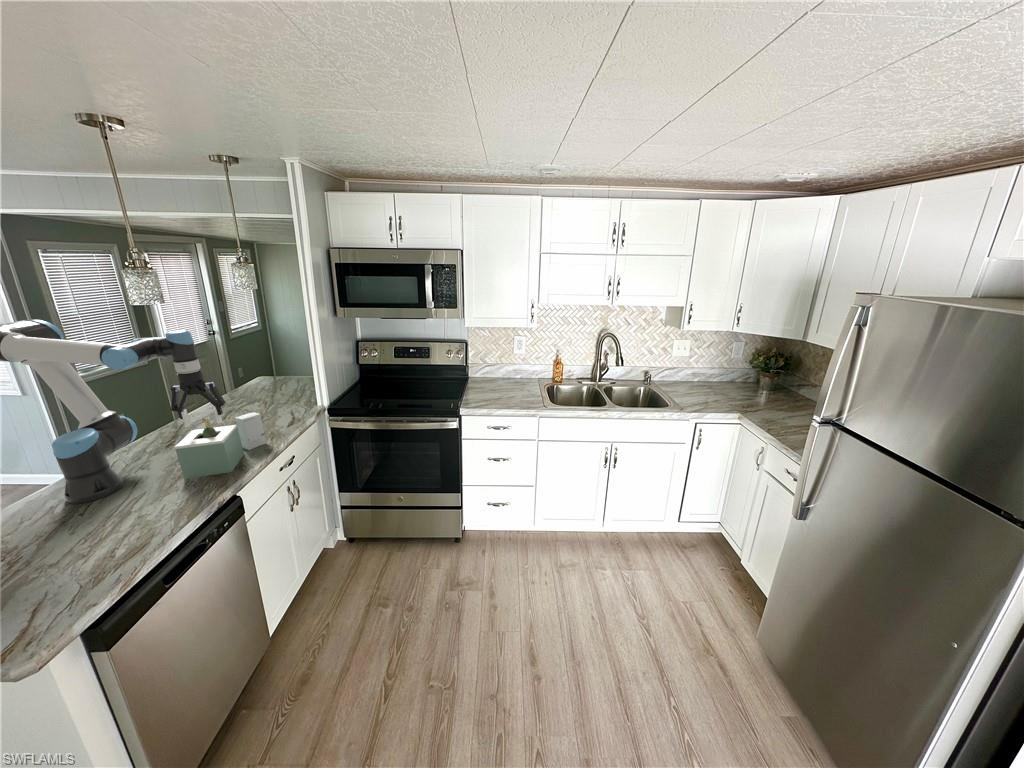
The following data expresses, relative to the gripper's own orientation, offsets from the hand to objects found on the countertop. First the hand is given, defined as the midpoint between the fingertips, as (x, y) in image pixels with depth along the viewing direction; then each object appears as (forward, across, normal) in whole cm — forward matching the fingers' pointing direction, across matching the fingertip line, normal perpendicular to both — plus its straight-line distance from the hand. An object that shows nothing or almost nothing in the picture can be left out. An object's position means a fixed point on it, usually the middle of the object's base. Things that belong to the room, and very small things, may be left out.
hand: (204, 424), depth 160 cm
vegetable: (+18, -1, 0) cm, 18 cm away
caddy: (+19, 0, 0) cm, 19 cm away
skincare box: (+19, +10, +16) cm, 27 cm away
